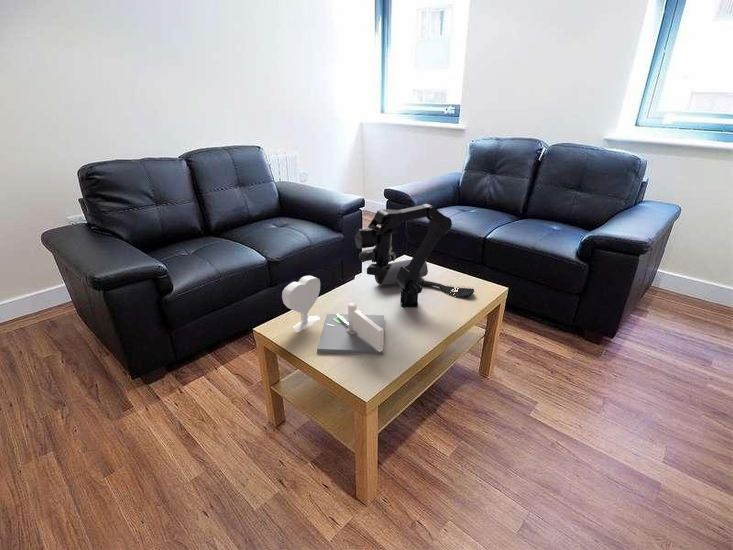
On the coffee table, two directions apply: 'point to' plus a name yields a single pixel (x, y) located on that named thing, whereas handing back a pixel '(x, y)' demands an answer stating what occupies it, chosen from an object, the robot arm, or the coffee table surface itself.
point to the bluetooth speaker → (395, 269)
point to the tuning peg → (364, 327)
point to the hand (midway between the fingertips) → (380, 283)
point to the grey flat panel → (345, 336)
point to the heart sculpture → (302, 299)
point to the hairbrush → (449, 289)
